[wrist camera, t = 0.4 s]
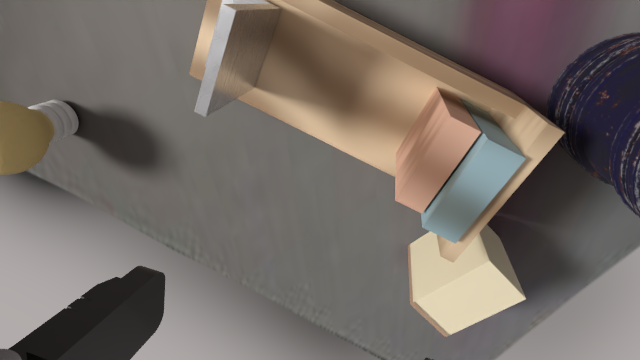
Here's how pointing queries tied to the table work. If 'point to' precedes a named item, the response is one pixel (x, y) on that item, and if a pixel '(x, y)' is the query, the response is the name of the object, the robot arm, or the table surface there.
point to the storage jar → (603, 113)
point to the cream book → (461, 281)
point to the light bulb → (32, 132)
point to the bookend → (236, 52)
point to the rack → (397, 113)
